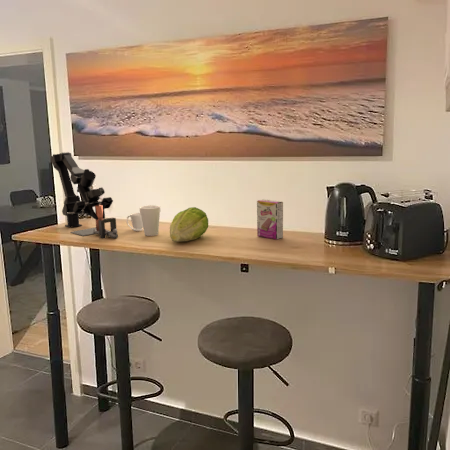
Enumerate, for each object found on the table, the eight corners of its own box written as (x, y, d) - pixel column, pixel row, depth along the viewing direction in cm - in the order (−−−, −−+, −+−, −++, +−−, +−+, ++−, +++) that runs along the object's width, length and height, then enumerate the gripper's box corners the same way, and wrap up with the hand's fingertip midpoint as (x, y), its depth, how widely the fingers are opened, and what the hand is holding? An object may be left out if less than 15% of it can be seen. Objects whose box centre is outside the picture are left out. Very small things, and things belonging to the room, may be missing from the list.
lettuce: (152, 230, 205) (178, 214, 198) (178, 212, 226) (202, 198, 219) (170, 258, 207) (196, 244, 199) (194, 238, 228) (218, 224, 221)
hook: (90, 232, 229) (89, 205, 226) (102, 229, 233) (101, 203, 230) (110, 240, 218) (109, 212, 214) (122, 237, 222) (121, 210, 218)
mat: (70, 232, 235) (70, 231, 235) (96, 227, 245) (96, 227, 245) (83, 236, 227) (83, 235, 227) (109, 231, 236) (109, 230, 236)
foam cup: (148, 237, 221) (146, 209, 218) (137, 234, 228) (135, 207, 225) (165, 234, 227) (164, 206, 224) (154, 231, 234) (153, 204, 231)
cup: (140, 232, 233) (139, 215, 231) (123, 230, 237) (122, 214, 235) (148, 229, 239) (147, 213, 237) (131, 227, 243) (130, 212, 241)
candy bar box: (256, 236, 218) (256, 200, 214) (263, 234, 221) (263, 199, 218) (276, 240, 210) (276, 202, 207) (283, 238, 214) (283, 201, 210)
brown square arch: (99, 237, 222) (98, 219, 221) (114, 235, 228) (112, 217, 226) (102, 238, 221) (101, 220, 219) (116, 235, 226) (115, 218, 224)
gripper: (73, 184, 220) (88, 211, 215) (109, 180, 233) (124, 205, 228) (67, 199, 227) (80, 226, 222) (102, 195, 240) (115, 219, 235)
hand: (100, 218), depth 226 cm, fingers closed on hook, 3 cm apart
